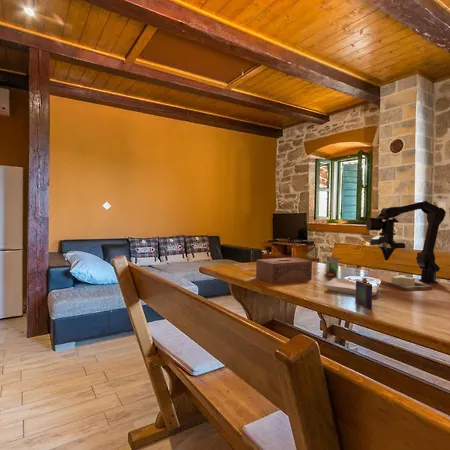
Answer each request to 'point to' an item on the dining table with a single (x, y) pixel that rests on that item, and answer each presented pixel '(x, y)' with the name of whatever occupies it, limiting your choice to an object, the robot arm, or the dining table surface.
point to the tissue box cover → (283, 269)
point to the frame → (417, 287)
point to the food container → (332, 266)
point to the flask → (363, 293)
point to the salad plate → (345, 286)
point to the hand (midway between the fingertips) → (386, 260)
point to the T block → (403, 280)
